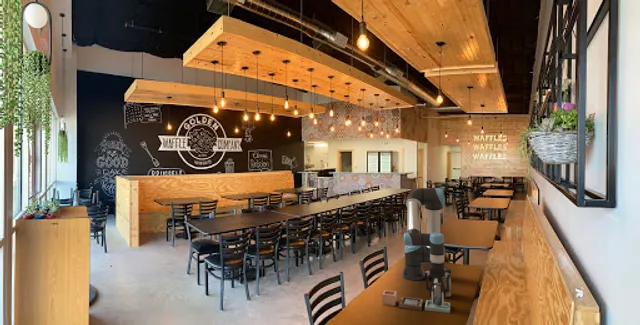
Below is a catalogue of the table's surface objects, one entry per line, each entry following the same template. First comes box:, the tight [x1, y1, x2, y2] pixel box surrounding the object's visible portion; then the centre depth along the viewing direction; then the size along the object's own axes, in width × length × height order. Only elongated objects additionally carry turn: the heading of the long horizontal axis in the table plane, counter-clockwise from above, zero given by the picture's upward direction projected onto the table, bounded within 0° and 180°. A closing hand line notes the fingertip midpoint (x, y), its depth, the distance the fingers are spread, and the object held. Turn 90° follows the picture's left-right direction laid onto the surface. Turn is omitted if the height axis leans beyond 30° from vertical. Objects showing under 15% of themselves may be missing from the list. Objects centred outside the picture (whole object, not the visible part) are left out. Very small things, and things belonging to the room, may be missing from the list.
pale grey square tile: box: [404, 299, 418, 305], centre depth 212 cm, size 7×7×1 cm
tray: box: [424, 299, 451, 314], centre depth 207 cm, size 10×13×2 cm
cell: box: [432, 283, 442, 306], centre depth 207 cm, size 5×5×12 cm
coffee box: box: [434, 266, 452, 298], centre depth 226 cm, size 9×6×16 cm
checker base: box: [398, 296, 424, 311], centre depth 212 cm, size 12×12×2 cm
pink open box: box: [381, 289, 398, 307], centre depth 215 cm, size 7×7×6 cm
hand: (437, 303), depth 207 cm, fingers open, 5 cm apart
